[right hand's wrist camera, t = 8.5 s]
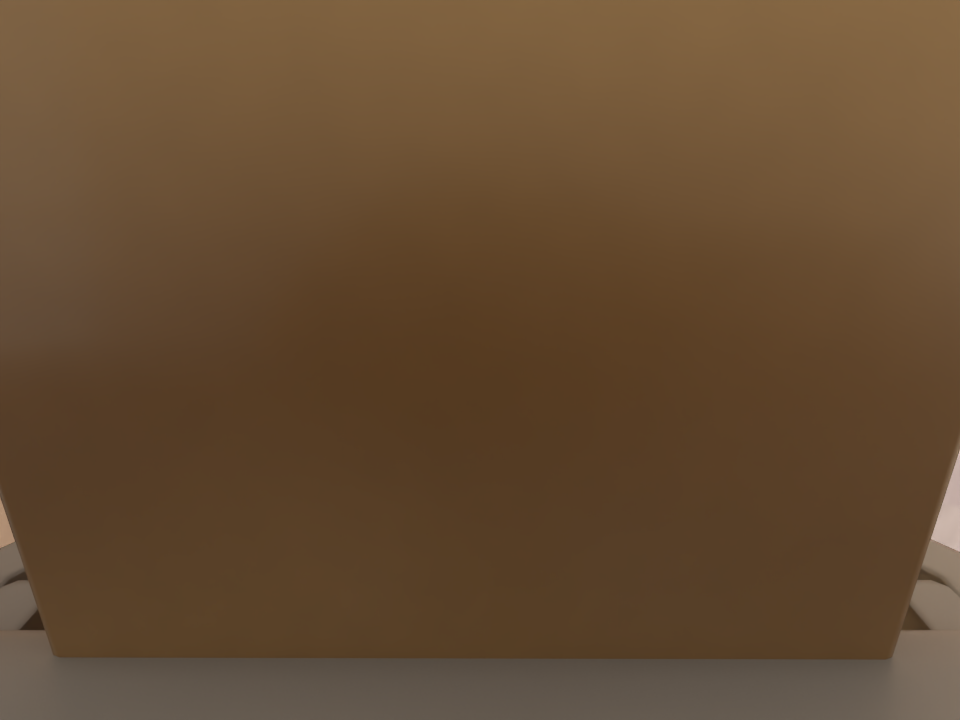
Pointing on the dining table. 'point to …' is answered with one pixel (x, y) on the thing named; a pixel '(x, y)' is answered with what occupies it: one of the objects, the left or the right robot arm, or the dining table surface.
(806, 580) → the box
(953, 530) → the dining table surface
